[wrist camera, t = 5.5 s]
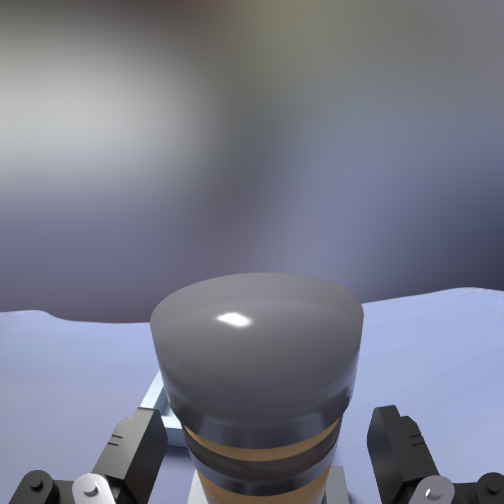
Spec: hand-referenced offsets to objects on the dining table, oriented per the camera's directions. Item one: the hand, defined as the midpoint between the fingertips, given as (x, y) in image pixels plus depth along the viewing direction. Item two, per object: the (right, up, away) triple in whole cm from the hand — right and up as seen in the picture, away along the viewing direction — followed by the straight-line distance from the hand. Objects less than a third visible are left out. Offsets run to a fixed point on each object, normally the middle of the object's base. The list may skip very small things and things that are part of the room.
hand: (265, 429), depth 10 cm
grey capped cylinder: (0, -8, 0) cm, 8 cm away
